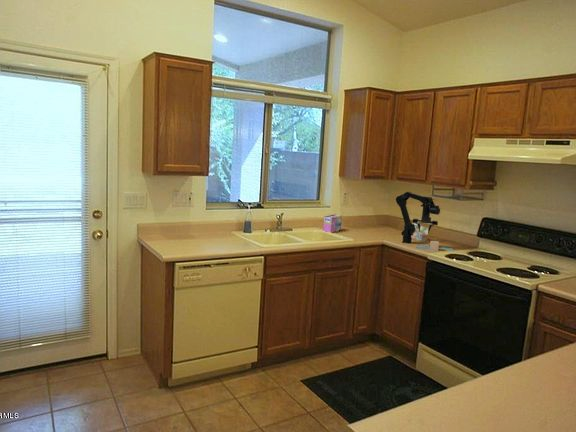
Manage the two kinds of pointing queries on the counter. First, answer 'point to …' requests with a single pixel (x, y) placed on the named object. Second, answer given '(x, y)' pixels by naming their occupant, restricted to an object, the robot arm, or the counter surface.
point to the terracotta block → (434, 245)
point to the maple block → (424, 230)
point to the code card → (424, 247)
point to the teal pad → (447, 248)
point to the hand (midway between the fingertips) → (423, 232)
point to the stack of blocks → (418, 234)
